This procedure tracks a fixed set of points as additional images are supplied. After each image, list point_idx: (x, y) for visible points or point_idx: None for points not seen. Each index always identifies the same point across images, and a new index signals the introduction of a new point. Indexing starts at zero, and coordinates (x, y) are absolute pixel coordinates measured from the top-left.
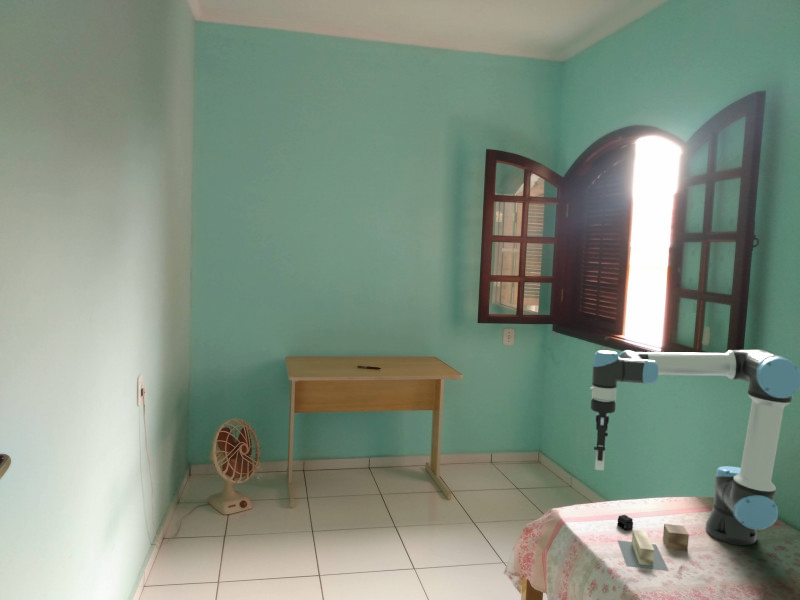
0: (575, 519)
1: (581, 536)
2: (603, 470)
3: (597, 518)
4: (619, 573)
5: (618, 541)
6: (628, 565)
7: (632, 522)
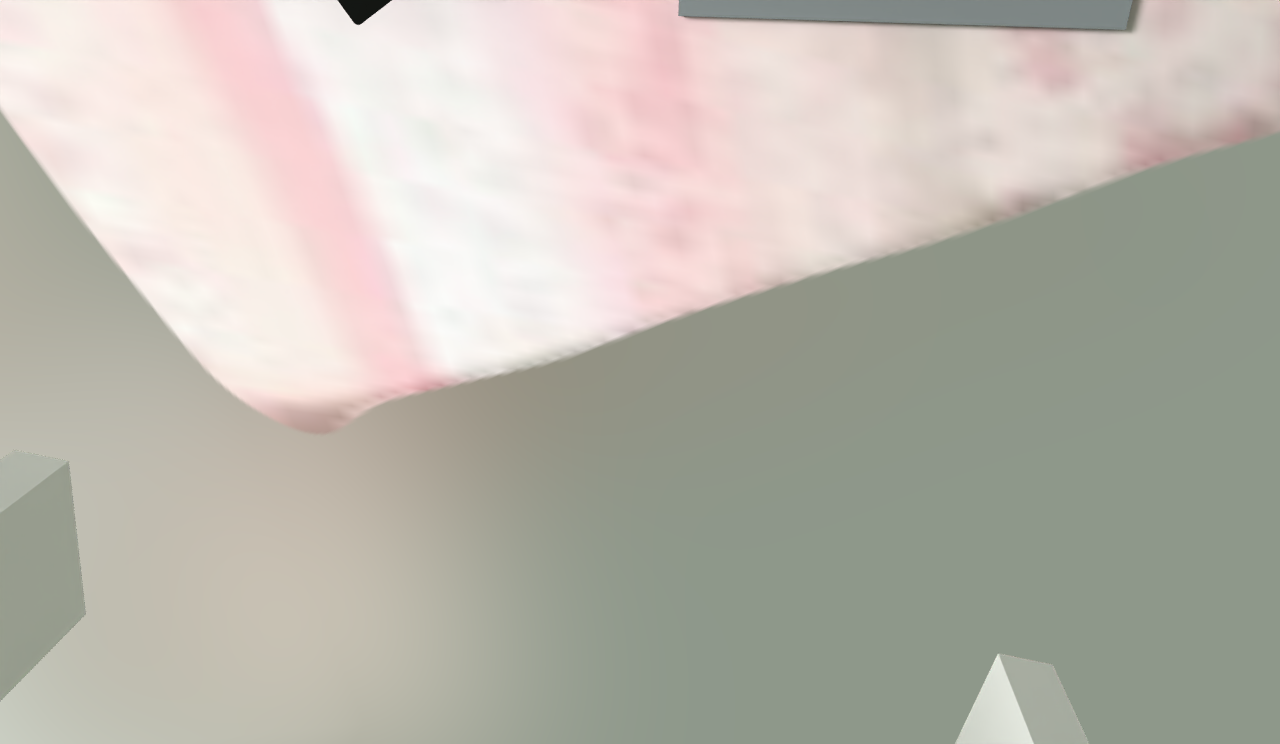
0: (368, 297)
1: (648, 298)
2: (1049, 672)
3: (284, 112)
4: (1216, 111)
5: (700, 11)
6: (1119, 12)
7: None
